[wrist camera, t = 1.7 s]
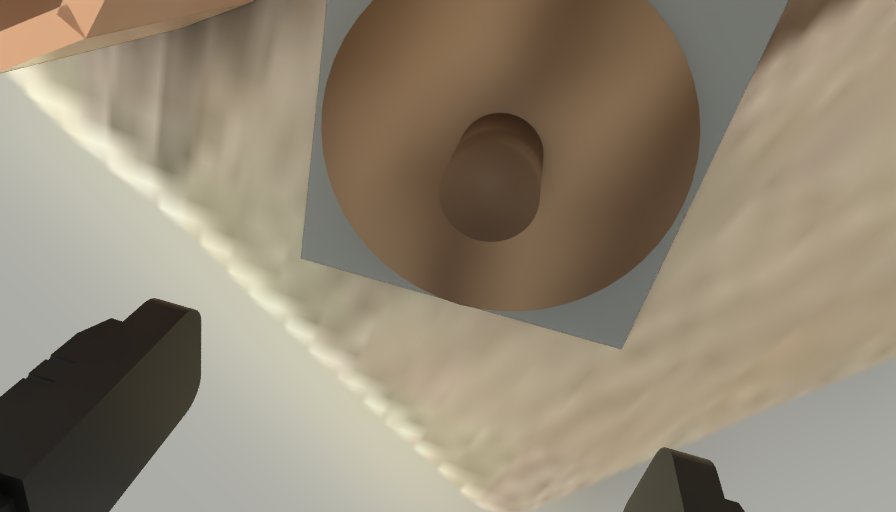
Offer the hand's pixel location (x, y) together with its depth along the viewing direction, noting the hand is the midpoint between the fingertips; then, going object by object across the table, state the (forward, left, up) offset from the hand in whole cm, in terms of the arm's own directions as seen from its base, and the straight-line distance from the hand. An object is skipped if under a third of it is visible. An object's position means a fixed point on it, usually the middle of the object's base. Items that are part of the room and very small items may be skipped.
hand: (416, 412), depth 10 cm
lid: (0, 0, -15) cm, 15 cm away
